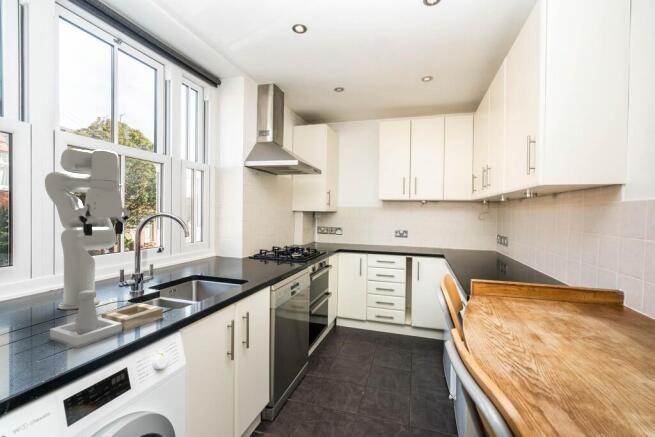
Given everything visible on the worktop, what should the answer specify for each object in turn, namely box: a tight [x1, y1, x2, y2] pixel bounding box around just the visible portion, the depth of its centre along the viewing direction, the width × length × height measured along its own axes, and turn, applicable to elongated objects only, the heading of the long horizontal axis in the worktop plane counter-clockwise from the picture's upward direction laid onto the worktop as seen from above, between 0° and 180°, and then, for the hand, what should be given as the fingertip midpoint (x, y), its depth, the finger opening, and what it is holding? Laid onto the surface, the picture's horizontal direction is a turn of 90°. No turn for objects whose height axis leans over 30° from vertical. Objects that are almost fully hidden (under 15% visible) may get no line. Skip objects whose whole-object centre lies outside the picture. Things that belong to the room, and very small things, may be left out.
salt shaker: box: [74, 290, 99, 335], centre depth 88 cm, size 6×6×13 cm
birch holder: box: [101, 302, 164, 331], centre depth 101 cm, size 13×13×4 cm
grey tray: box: [49, 316, 123, 349], centre depth 88 cm, size 14×12×3 cm
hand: (104, 234), depth 101 cm, fingers open, 9 cm apart
